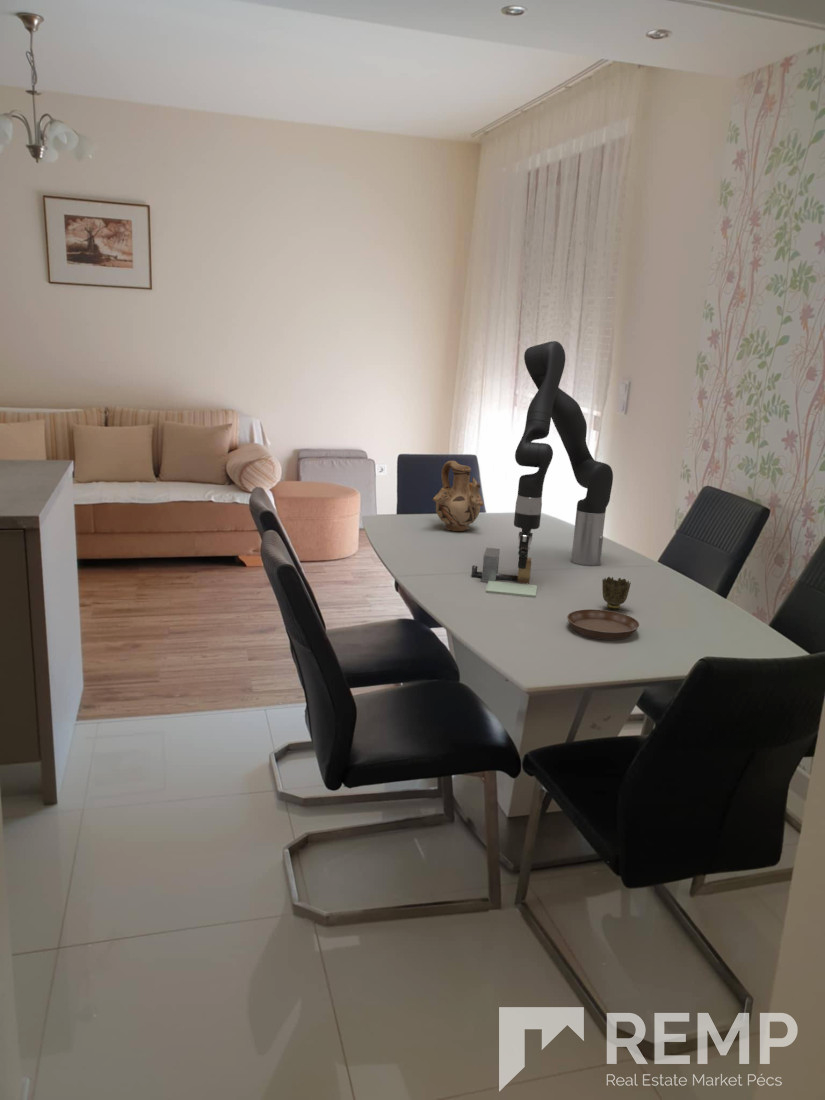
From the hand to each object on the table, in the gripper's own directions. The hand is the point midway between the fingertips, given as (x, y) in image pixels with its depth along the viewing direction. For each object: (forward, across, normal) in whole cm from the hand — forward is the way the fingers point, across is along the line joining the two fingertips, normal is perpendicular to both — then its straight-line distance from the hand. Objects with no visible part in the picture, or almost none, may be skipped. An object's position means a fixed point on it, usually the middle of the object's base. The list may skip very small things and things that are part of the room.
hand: (522, 564), depth 247 cm
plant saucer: (+6, -37, -22) cm, 43 cm away
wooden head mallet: (+5, 0, +6) cm, 8 cm away
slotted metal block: (+5, 0, +9) cm, 11 cm away
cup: (+5, -18, -26) cm, 32 cm away
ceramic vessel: (+5, +59, +27) cm, 66 cm away
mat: (+5, -10, +2) cm, 11 cm away
